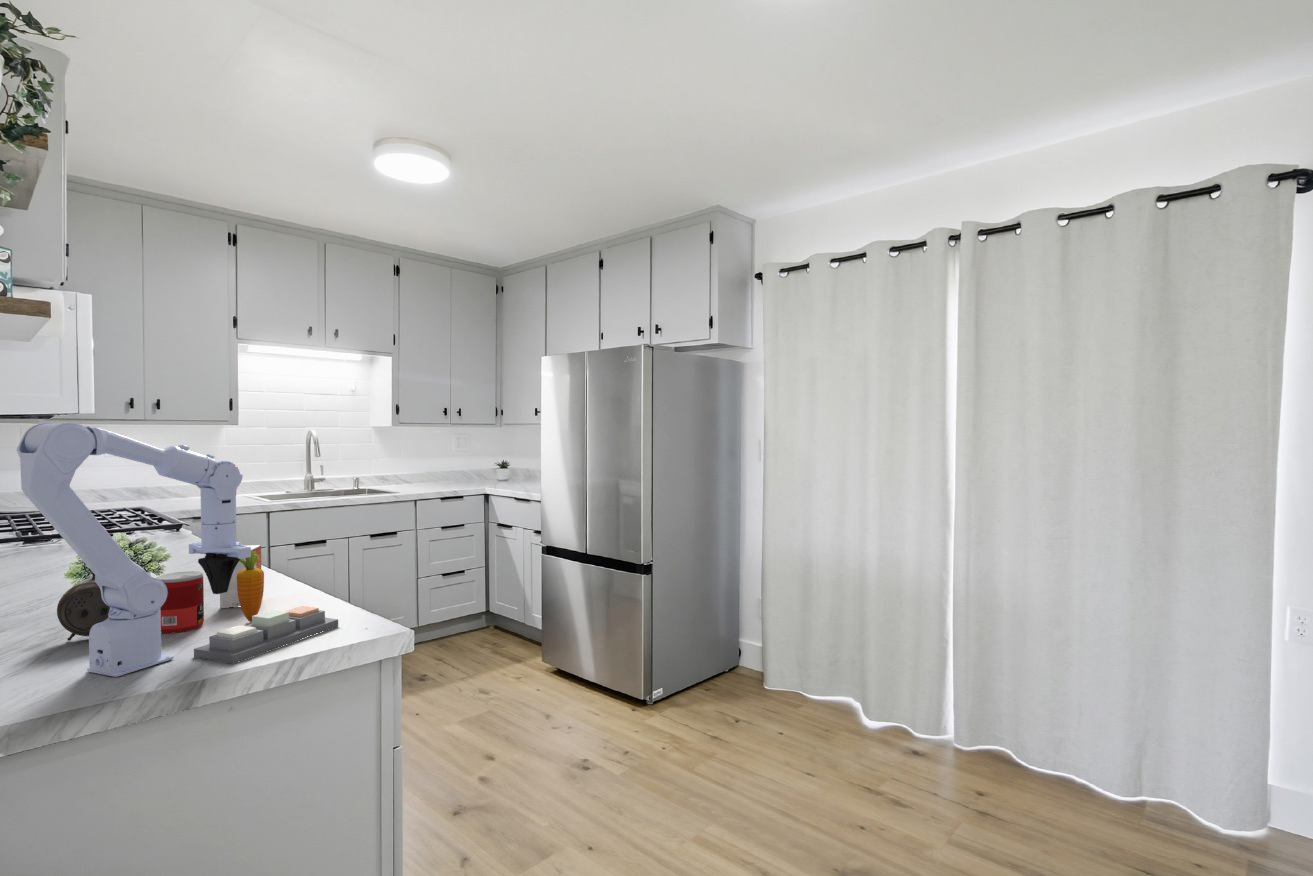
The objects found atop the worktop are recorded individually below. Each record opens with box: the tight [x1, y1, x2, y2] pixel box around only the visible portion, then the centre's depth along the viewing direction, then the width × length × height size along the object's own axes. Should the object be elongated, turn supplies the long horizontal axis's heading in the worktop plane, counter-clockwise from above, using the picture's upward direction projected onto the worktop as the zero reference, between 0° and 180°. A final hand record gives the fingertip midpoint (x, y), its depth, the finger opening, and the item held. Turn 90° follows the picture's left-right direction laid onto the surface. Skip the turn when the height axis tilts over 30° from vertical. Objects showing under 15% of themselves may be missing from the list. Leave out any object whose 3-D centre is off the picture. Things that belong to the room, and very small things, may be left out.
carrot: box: [237, 551, 265, 623], centre depth 142 cm, size 5×5×15 cm
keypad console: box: [193, 609, 339, 665], centre depth 130 cm, size 23×10×4 cm, turn 159°
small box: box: [219, 544, 262, 609], centre depth 157 cm, size 8×6×13 cm
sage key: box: [251, 609, 289, 628], centre depth 130 cm, size 4×4×2 cm
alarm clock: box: [56, 563, 110, 641], centre depth 131 cm, size 11×5×16 cm, turn 114°
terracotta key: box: [283, 605, 320, 618], centre depth 136 cm, size 4×4×2 cm
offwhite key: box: [216, 624, 256, 639], centre depth 123 cm, size 4×4×2 cm
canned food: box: [156, 570, 205, 634], centre depth 138 cm, size 8×8×11 cm
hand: (220, 592), depth 130 cm, fingers closed
